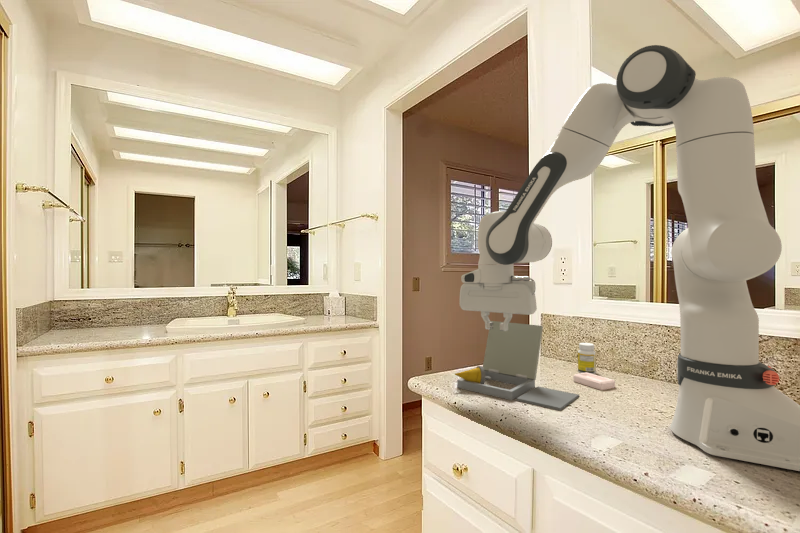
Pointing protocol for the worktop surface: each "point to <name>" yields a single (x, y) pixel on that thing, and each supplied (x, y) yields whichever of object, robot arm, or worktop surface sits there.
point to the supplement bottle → (586, 358)
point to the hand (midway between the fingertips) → (496, 330)
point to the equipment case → (509, 360)
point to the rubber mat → (548, 398)
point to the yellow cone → (474, 375)
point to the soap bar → (594, 381)
